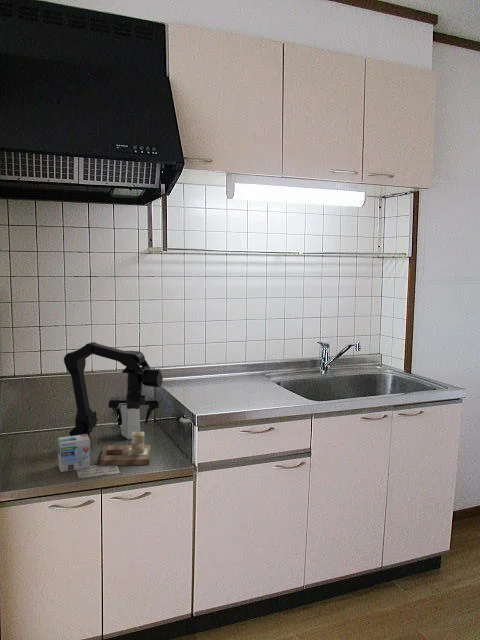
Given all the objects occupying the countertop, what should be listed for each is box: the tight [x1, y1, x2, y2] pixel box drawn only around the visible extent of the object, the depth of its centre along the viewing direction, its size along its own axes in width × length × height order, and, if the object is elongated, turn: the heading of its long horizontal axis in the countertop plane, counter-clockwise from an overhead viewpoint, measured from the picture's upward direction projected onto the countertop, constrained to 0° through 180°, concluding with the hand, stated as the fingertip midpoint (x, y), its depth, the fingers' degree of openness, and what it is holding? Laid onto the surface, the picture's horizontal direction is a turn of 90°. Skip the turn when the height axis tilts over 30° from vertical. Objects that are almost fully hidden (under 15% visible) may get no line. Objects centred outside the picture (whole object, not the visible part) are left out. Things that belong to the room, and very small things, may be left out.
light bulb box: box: [57, 434, 91, 473], centre depth 190 cm, size 11×7×11 cm, turn 117°
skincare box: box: [120, 405, 141, 440], centre depth 224 cm, size 8×6×15 cm
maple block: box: [131, 431, 145, 454], centre depth 201 cm, size 4×4×7 cm
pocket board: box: [99, 444, 151, 466], centre depth 201 cm, size 18×15×2 cm
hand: (133, 424), depth 201 cm, fingers open, 9 cm apart
